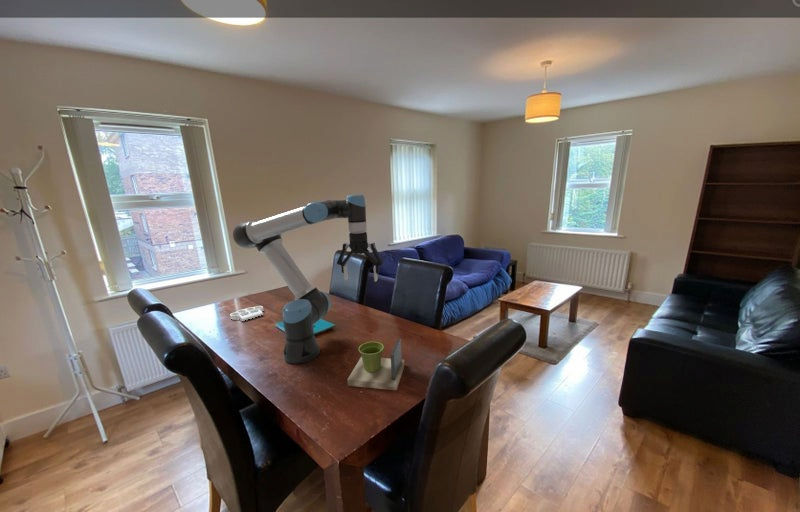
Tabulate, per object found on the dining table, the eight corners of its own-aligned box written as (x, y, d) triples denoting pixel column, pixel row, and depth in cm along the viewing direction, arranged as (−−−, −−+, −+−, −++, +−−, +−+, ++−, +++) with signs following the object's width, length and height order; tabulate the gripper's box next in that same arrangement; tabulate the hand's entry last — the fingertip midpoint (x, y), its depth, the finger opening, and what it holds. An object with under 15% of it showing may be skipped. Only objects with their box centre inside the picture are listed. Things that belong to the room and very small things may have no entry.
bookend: (391, 380, 110) (390, 354, 108) (398, 361, 122) (397, 338, 120) (395, 380, 110) (393, 354, 108) (401, 362, 121) (400, 338, 119)
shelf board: (347, 385, 112) (347, 379, 111) (361, 361, 127) (361, 356, 127) (396, 390, 108) (396, 383, 108) (404, 365, 124) (404, 359, 123)
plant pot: (375, 378, 112) (374, 356, 110) (354, 371, 116) (353, 350, 115) (389, 365, 119) (388, 344, 118) (369, 359, 124) (368, 339, 122)
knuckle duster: (236, 325, 169) (228, 318, 179) (269, 315, 181) (259, 309, 191) (235, 319, 168) (227, 312, 178) (268, 309, 180) (258, 303, 191)
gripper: (388, 230, 131) (390, 278, 136) (333, 231, 136) (337, 277, 141) (384, 233, 124) (386, 283, 129) (326, 233, 129) (330, 282, 134)
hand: (361, 280), depth 135 cm, fingers open, 13 cm apart
